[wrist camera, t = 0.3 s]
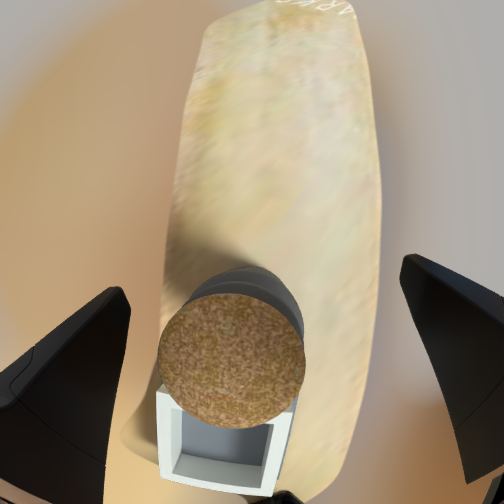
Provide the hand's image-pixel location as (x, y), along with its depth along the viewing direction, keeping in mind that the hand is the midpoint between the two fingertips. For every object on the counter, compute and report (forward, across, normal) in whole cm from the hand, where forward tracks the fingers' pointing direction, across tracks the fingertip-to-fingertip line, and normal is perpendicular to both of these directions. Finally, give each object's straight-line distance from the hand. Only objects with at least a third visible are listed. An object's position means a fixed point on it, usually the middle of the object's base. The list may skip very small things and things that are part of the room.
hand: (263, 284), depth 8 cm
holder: (+4, +5, +20) cm, 22 cm away
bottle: (+11, +1, +10) cm, 15 cm away
